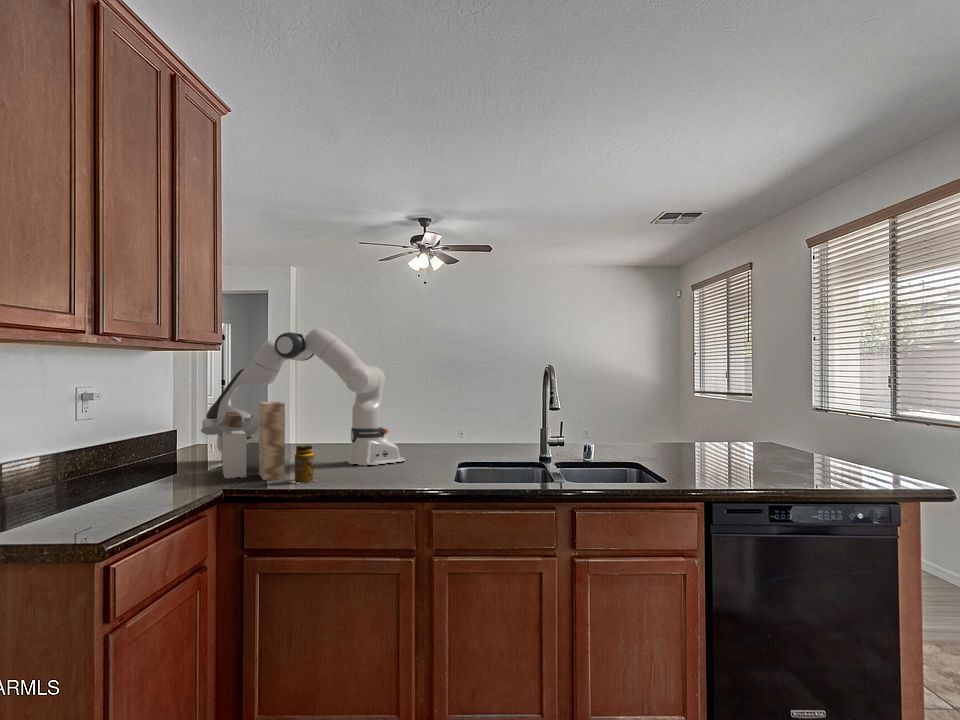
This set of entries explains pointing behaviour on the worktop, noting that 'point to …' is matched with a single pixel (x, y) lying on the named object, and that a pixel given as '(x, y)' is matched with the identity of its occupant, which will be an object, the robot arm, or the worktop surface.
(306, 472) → the condiment
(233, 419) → the bar
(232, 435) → the step
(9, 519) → the worktop surface
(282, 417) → the stand
